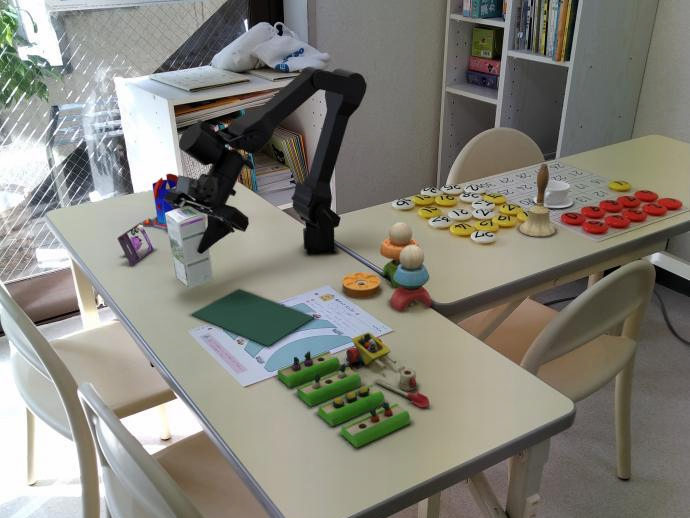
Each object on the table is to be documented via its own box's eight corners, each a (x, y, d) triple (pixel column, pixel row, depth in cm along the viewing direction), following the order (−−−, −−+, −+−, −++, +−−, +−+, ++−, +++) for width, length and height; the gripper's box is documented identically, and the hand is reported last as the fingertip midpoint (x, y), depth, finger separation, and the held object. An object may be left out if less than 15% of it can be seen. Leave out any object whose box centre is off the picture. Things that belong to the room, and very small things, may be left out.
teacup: (542, 193, 198) (544, 176, 196) (578, 200, 193) (581, 183, 191) (526, 204, 192) (528, 187, 189) (563, 212, 186) (566, 194, 184)
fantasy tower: (174, 234, 178) (167, 185, 172) (138, 224, 184) (130, 177, 178) (206, 217, 187) (201, 171, 181) (171, 209, 192) (165, 163, 186)
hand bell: (516, 234, 175) (523, 168, 167) (522, 221, 182) (530, 157, 173) (552, 239, 173) (561, 172, 164) (557, 226, 179) (566, 161, 171)
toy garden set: (276, 378, 125) (274, 355, 123) (368, 342, 135) (367, 320, 132) (356, 448, 109) (356, 423, 107) (454, 403, 118) (456, 379, 116)
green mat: (191, 315, 144) (191, 314, 144) (239, 290, 153) (238, 289, 153) (268, 347, 134) (268, 345, 134) (314, 318, 143) (314, 317, 142)
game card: (120, 237, 160) (143, 221, 168) (102, 241, 163) (125, 226, 170) (134, 265, 163) (156, 248, 170) (116, 269, 165) (138, 253, 173)
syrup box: (214, 280, 149) (205, 212, 141) (188, 289, 146) (177, 221, 138) (200, 270, 153) (191, 203, 145) (174, 279, 150) (163, 211, 142)
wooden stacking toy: (333, 283, 155) (332, 227, 148) (407, 268, 161) (409, 213, 154) (370, 322, 141) (370, 262, 134) (449, 304, 146) (453, 245, 140)
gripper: (163, 149, 145) (128, 220, 143) (231, 166, 135) (194, 243, 134) (198, 176, 154) (166, 244, 153) (265, 194, 145) (230, 266, 143)
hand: (187, 248), depth 145 cm, fingers closed on syrup box, 6 cm apart
